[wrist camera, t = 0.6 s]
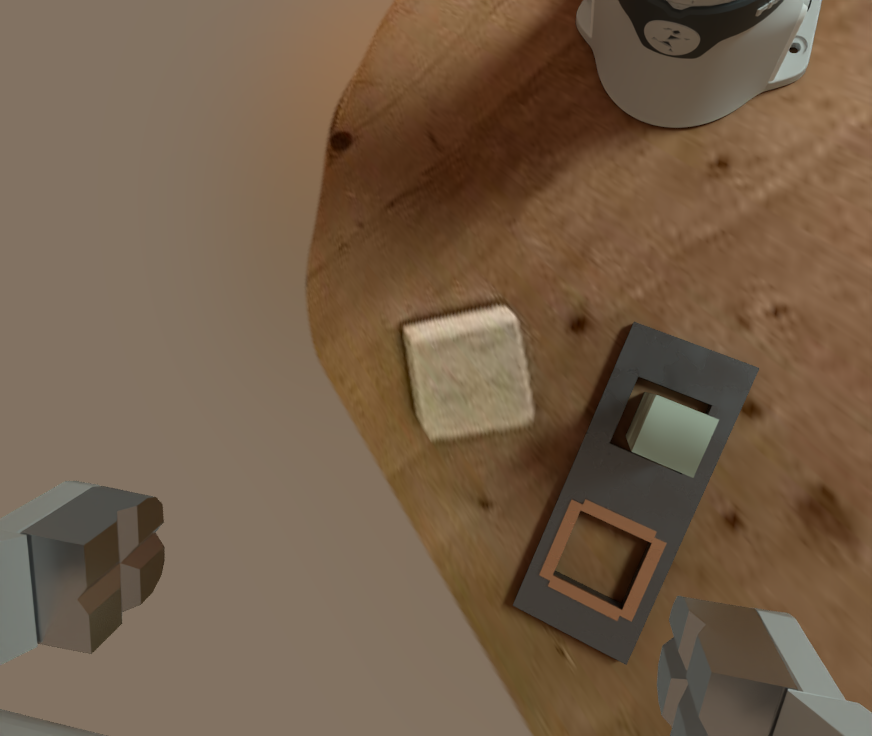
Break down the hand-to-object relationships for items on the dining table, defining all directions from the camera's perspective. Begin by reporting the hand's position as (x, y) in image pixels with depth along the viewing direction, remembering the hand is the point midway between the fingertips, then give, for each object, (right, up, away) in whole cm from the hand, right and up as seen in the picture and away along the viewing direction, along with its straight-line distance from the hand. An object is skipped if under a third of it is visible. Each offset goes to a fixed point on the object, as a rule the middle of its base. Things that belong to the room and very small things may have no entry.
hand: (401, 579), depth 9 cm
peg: (+19, -1, +41) cm, 45 cm away
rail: (+17, -7, +41) cm, 45 cm away
